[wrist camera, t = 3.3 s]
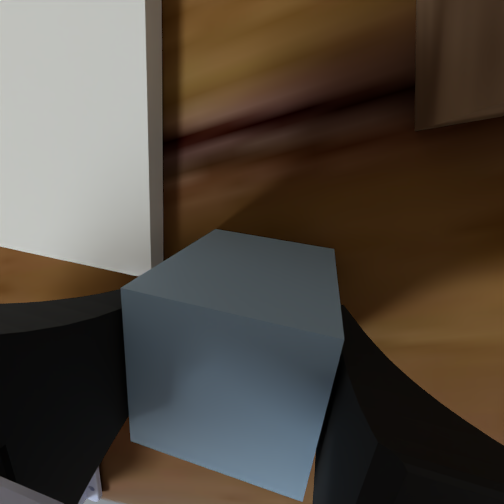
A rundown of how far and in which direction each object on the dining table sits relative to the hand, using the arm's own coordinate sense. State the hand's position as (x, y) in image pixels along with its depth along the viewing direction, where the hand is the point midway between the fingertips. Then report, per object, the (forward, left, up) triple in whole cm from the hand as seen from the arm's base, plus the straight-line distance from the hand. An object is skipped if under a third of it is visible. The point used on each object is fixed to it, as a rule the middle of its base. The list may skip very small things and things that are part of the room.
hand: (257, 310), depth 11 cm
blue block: (0, 0, -2) cm, 2 cm away
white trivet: (+6, +11, -2) cm, 13 cm away
